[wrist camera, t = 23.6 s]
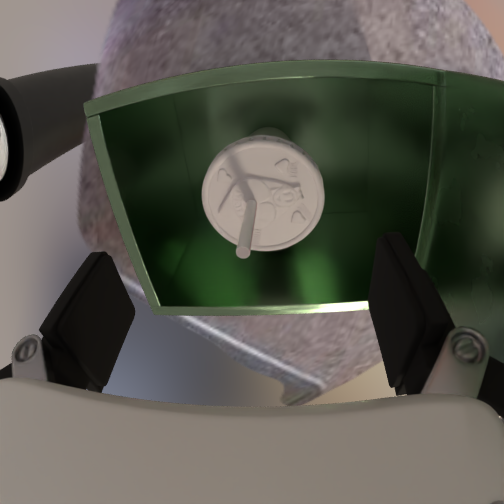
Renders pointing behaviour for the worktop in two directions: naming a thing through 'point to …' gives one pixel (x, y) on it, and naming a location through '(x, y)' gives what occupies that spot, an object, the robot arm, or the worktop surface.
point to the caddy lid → (471, 208)
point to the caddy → (302, 134)
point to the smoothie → (263, 192)
